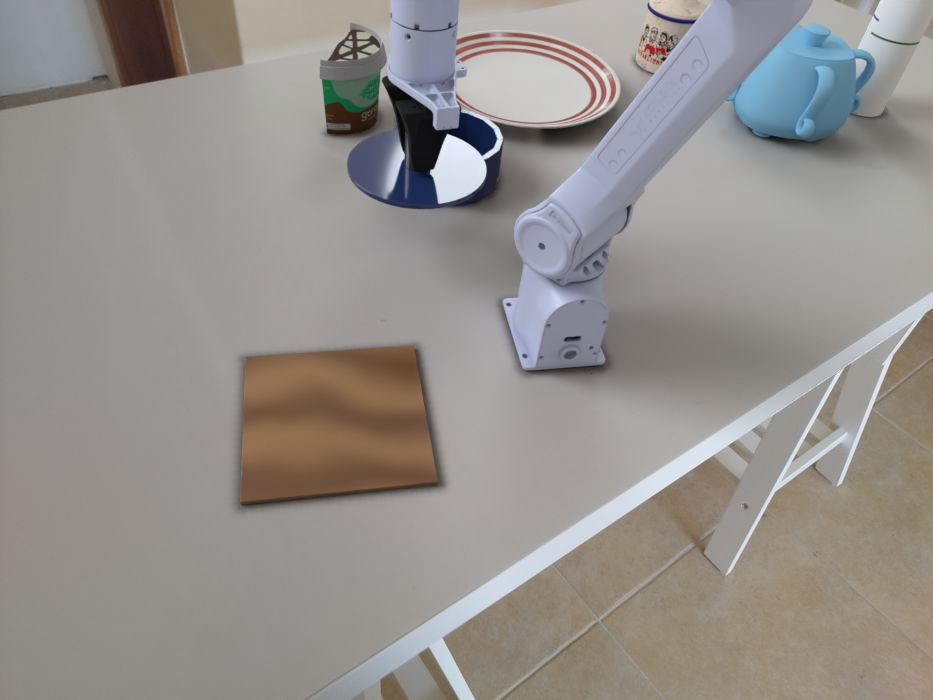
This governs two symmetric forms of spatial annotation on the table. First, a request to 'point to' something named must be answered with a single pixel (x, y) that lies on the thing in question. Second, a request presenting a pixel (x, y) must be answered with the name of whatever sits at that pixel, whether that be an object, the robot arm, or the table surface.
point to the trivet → (333, 424)
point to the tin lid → (415, 173)
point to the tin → (481, 146)
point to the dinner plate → (533, 79)
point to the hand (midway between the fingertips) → (418, 160)
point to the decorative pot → (803, 86)
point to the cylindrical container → (890, 49)
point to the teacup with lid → (665, 30)
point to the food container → (353, 81)
